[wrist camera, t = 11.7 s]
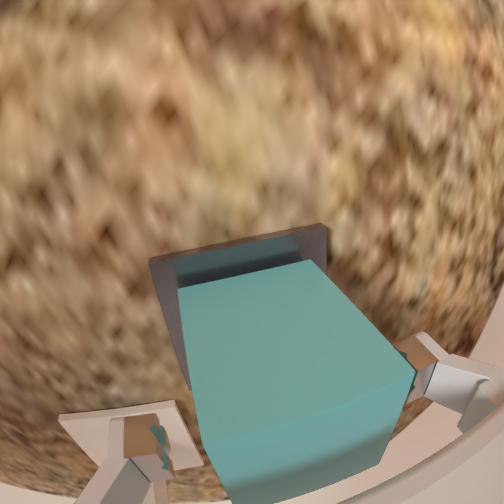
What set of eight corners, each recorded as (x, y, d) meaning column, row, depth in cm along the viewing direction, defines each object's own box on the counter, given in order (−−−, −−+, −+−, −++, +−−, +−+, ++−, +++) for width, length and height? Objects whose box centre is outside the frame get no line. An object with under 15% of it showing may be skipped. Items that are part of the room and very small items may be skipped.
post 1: (108, 471, 17) (113, 556, 11) (59, 414, 14) (47, 522, 8) (203, 459, 18) (225, 548, 12) (174, 399, 15) (194, 520, 9)
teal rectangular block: (204, 383, 14) (237, 512, 8) (177, 288, 12) (202, 444, 6) (311, 355, 15) (378, 463, 9) (310, 259, 13) (415, 371, 7)
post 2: (188, 383, 15) (214, 509, 9) (149, 258, 12) (147, 402, 6) (320, 349, 16) (388, 451, 10) (320, 223, 13) (437, 315, 7)
